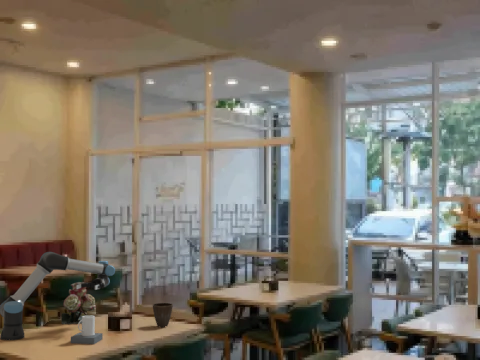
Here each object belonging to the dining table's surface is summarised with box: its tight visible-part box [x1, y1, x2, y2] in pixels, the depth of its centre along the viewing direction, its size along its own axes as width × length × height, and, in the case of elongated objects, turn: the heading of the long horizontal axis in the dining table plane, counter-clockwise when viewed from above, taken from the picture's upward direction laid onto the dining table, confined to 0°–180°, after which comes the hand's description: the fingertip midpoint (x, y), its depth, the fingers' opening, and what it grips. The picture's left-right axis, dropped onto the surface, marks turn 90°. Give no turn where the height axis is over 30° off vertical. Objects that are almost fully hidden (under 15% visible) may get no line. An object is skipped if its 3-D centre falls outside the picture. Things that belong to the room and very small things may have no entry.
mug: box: [77, 314, 96, 336], centre depth 382 cm, size 12×8×12 cm
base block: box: [70, 331, 103, 345], centre depth 382 cm, size 16×14×4 cm
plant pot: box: [152, 302, 174, 328], centre depth 434 cm, size 15×15×16 cm
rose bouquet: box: [61, 281, 97, 325], centre depth 450 cm, size 26×29×30 cm
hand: (86, 287), depth 405 cm, fingers open, 13 cm apart
